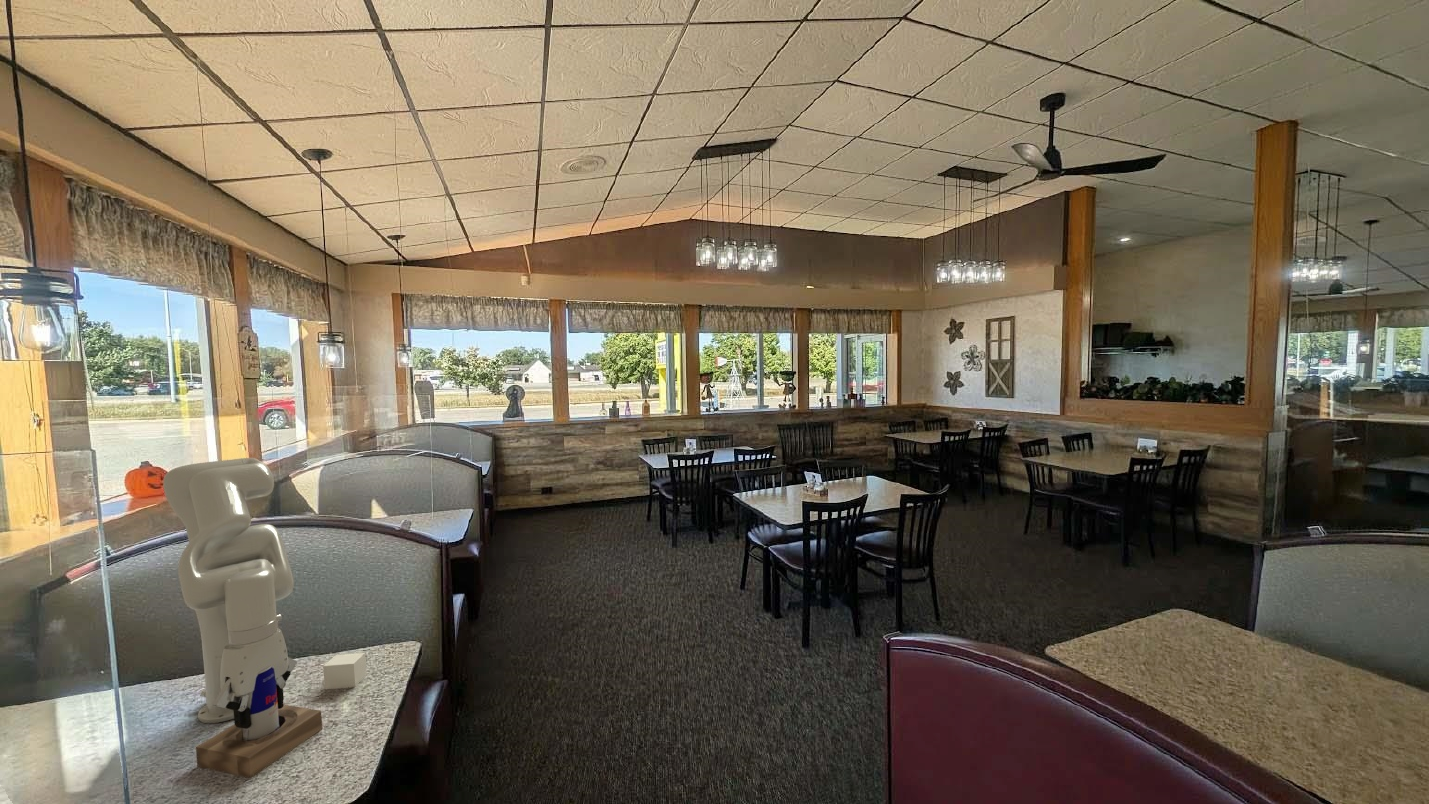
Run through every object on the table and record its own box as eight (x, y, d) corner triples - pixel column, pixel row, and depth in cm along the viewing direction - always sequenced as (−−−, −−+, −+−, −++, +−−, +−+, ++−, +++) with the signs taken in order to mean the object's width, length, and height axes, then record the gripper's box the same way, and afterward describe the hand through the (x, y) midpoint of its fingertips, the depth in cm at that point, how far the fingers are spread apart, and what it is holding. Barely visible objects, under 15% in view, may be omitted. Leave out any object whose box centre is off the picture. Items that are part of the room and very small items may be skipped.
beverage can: (258, 748, 104) (252, 676, 103) (236, 745, 105) (230, 673, 104) (286, 729, 109) (281, 660, 108) (265, 726, 110) (260, 658, 109)
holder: (197, 766, 102) (195, 747, 102) (273, 719, 116) (271, 702, 115) (250, 778, 99) (249, 757, 98) (322, 728, 112) (321, 710, 112)
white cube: (324, 689, 127) (323, 666, 126) (337, 678, 132) (335, 655, 131) (355, 687, 127) (353, 663, 127) (366, 675, 132) (365, 652, 132)
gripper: (283, 611, 115) (289, 689, 116) (188, 651, 98) (196, 743, 99) (309, 613, 113) (315, 694, 114) (217, 656, 97) (225, 749, 98)
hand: (260, 716), depth 107 cm, fingers closed on beverage can, 5 cm apart
